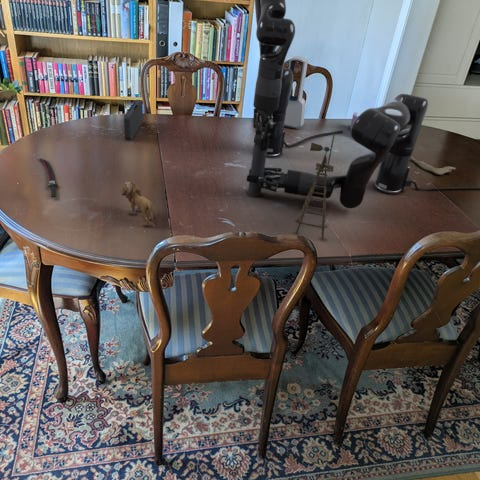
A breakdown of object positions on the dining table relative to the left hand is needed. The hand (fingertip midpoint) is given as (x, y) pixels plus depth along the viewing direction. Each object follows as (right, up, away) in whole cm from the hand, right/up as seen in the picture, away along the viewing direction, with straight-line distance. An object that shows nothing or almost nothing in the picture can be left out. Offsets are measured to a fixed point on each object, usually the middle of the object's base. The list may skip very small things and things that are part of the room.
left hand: (260, 146), depth 146 cm
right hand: (-4, -8, +6) cm, 11 cm away
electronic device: (+16, +24, +70) cm, 76 cm away
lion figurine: (-36, -22, -10) cm, 43 cm away
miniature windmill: (+14, -26, -7) cm, 31 cm away
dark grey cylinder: (-2, -14, +9) cm, 17 cm away
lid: (0, +2, -1) cm, 3 cm away
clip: (+51, +20, +70) cm, 89 cm away
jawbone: (+71, +1, +45) cm, 84 cm away
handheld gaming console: (-50, +16, +47) cm, 70 cm away
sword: (-69, -9, +5) cm, 70 cm away
